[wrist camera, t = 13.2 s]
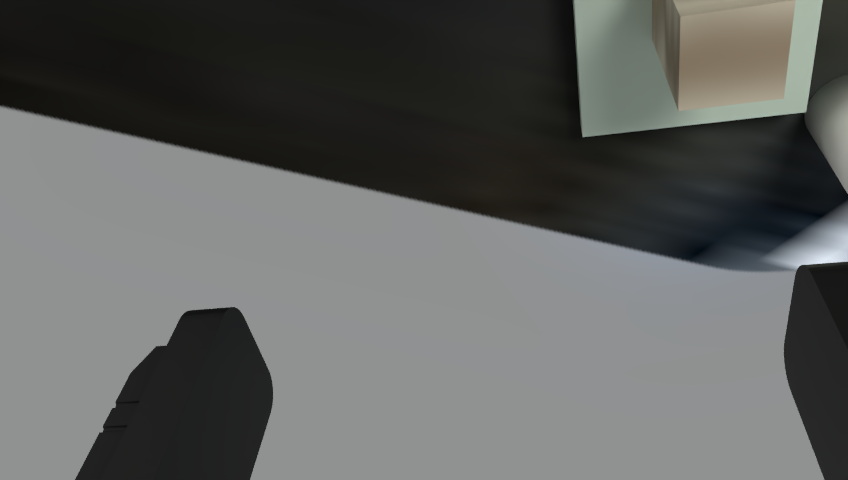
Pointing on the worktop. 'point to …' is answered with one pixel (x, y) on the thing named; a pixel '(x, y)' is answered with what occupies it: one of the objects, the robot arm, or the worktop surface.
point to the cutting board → (645, 79)
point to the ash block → (723, 49)
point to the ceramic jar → (831, 124)
